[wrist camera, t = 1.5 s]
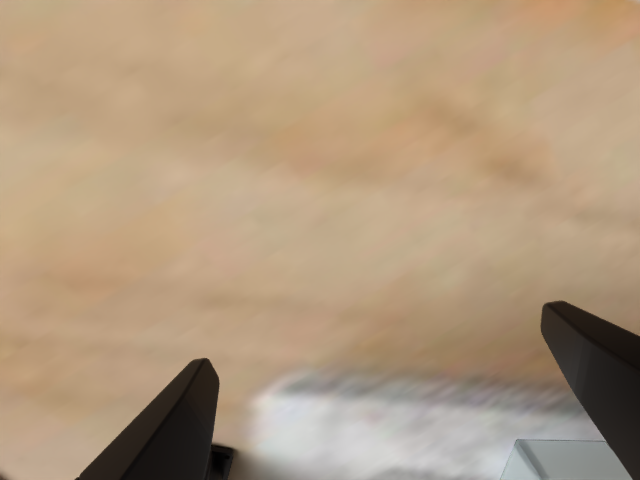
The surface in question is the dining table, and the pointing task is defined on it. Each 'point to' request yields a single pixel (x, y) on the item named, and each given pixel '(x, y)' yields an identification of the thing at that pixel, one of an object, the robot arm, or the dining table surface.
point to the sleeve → (563, 461)
